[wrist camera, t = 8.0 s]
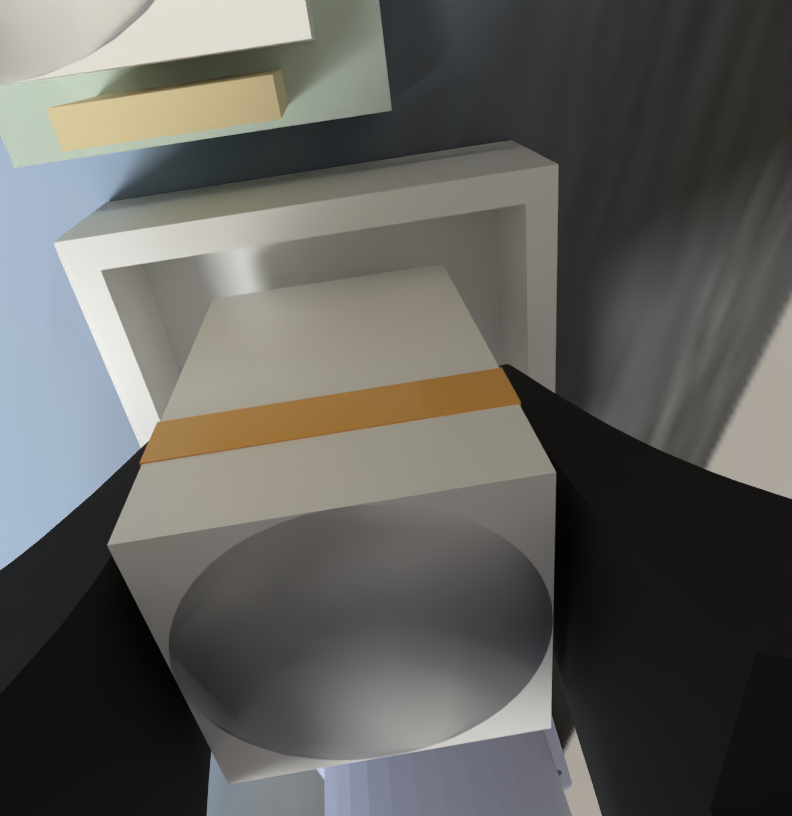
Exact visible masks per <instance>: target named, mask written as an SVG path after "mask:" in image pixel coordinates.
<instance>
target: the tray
mask: <svg viewBox="0 0 792 816" xmlns="http://www.w3.org/2000/svg"><path fill="white" fill-rule="evenodd" d="M558 169H559V164H557V163H555V162H553V161H551V160H549V159H547V158H545V157H543V156H542V155H540V154H538V153H536V152H534V151H532V150H530V149H528V148H526V147H524V146H522V145H520V144H518V143H516V142H515V141H513V140H508V141H502V142H495V143H489V144H482V145H476V146H469V147H463V148H456V149H450V150H443V151H437V152H430V153H424V154H417V155H410V156H404V157H397V158H391V159H384V160H378V161H371V162H365V163H358V164H352V165H345V166H339V167H332V168H326V169H319V170H313V171H306V172H300V173H293V174H287V175H280V176H274V177H267V178H261V179H254V180H248V181H241V182H235V183H228V184H222V185H215V186H209V187H202V188H196V189H189V190H183V191H176V192H170V193H163V194H157V195H150V196H144V197H137V198H131V199H124V200H118V201H111V202H106V203H105V204H104V205H102V206H101V207H100V208H98V209H97V210H96V211H94V212H93V213H92V214H90V215H89V216H88V217H86V218H85V219H84V220H82V221H81V222H80V223H78V224H77V225H76V226H75V227H73V228H72V229H71V230H69V231H68V232H67V233H65V234H64V235H63V236H61V237H60V238H59V239H57V240H56V241H55V242H53V243H54V246H55V248H56V250H57V253H58V255H59V257H60V260H61V262H62V264H63V267H64V269H65V271H66V274H67V276H68V278H69V281H70V283H71V285H72V288H73V290H74V292H75V295H76V297H77V299H78V302H79V304H80V307H81V309H82V311H83V314H84V316H85V318H86V321H87V323H88V325H89V328H90V330H91V332H92V335H93V337H94V339H95V342H96V344H97V346H98V349H99V351H100V353H101V356H102V358H103V360H104V363H105V365H106V367H107V370H108V372H109V374H110V377H111V379H112V381H113V384H114V386H115V388H116V391H117V393H118V395H119V398H120V400H121V402H122V405H123V407H124V410H125V412H126V414H127V417H128V419H129V421H130V424H131V426H132V428H133V431H134V433H135V435H136V438H137V440H138V442H139V445H140V447H141V448H142V447H143V446H144V445H145V444H146V443H147V442H148V441H149V440H150V437H151V435H152V433H153V431H154V428H155V426H156V424H157V422H160V421H161V419H162V416H163V414H164V412H165V409H166V407H167V405H168V402H169V400H170V398H171V395H172V393H173V391H174V388H175V386H176V384H177V381H178V379H179V377H180V374H181V372H182V370H183V367H184V365H185V363H186V360H187V358H188V356H189V353H190V351H191V349H192V346H193V344H194V342H195V339H196V337H197V335H198V332H199V330H200V328H201V325H202V323H203V321H204V318H205V316H206V314H207V311H208V309H209V307H210V304H211V302H212V300H213V299H215V298H222V297H228V296H235V295H241V294H248V293H254V292H261V291H268V290H274V289H281V288H287V287H294V286H300V285H307V284H313V283H320V282H326V281H333V280H339V279H346V278H352V277H359V276H365V275H372V274H378V273H385V272H391V271H398V270H404V269H411V268H417V267H424V266H430V265H437V264H443V265H444V267H445V269H446V271H447V273H448V274H449V276H450V278H451V280H452V282H453V284H454V285H455V287H456V289H457V291H458V293H459V295H460V296H461V298H462V300H463V302H464V304H465V306H466V307H467V309H468V311H469V313H470V315H471V317H472V318H473V320H474V322H475V324H476V326H477V328H478V329H479V331H480V333H481V335H482V337H483V339H484V340H485V342H486V344H487V346H488V348H489V350H490V352H491V353H492V355H493V357H494V359H495V361H496V363H497V364H498V366H499V365H505V364H509V365H511V366H513V367H515V368H516V369H518V370H519V371H521V372H523V373H524V374H526V375H527V376H529V377H530V378H532V379H534V380H535V381H537V382H538V383H540V384H541V385H543V386H544V387H546V388H548V389H549V390H551V391H552V392H554V393H555V372H556V304H557V236H558Z"/></svg>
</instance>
